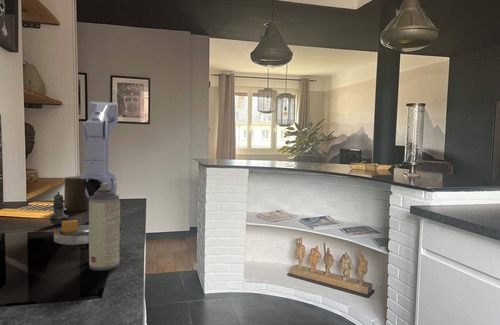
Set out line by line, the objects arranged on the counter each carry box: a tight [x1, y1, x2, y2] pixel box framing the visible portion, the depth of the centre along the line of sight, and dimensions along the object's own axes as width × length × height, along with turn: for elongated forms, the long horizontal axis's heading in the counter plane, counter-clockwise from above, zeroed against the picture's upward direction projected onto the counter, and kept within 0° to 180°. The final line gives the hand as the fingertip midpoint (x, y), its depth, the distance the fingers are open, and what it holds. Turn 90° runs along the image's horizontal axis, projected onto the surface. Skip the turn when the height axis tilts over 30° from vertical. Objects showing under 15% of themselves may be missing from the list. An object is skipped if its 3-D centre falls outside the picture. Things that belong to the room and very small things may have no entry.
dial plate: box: [53, 224, 89, 246], centre depth 106 cm, size 15×15×3 cm
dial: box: [61, 219, 89, 236], centre depth 105 cm, size 10×9×5 cm
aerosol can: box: [88, 183, 121, 272], centre depth 86 cm, size 7×7×20 cm
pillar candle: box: [63, 173, 90, 213], centre depth 147 cm, size 10×10×15 cm
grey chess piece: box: [48, 191, 69, 226], centre depth 120 cm, size 6×6×12 cm
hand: (95, 204), depth 109 cm, fingers closed
